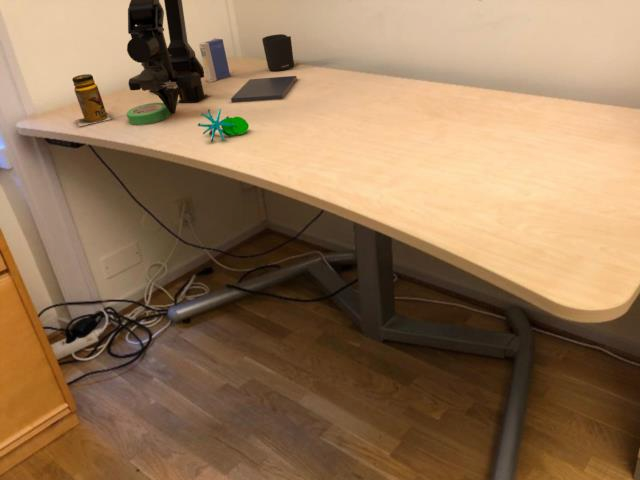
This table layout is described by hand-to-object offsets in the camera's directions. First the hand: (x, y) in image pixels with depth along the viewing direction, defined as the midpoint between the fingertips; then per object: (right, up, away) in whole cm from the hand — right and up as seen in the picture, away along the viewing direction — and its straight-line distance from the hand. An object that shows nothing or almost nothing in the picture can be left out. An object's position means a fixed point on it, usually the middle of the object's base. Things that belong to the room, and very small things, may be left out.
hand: (173, 113), depth 158 cm
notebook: (+22, +11, +16) cm, 30 cm away
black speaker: (+24, +26, +40) cm, 53 cm away
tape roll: (-7, -1, +3) cm, 8 cm away
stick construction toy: (+18, -10, -17) cm, 26 cm away
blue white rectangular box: (+4, +21, +36) cm, 42 cm away
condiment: (-25, 0, +7) cm, 25 cm away
